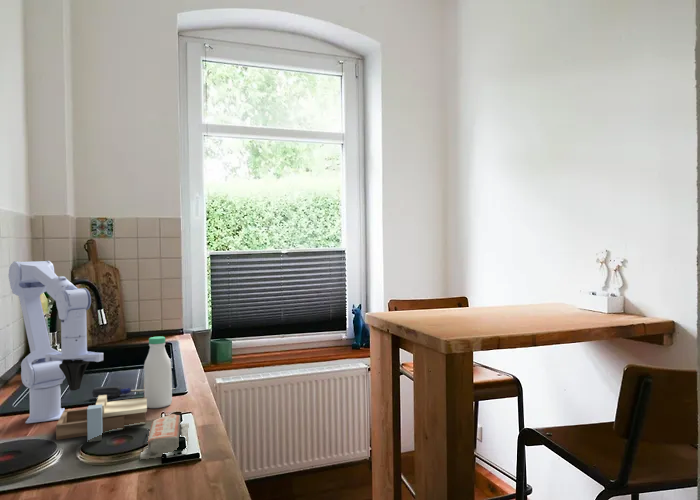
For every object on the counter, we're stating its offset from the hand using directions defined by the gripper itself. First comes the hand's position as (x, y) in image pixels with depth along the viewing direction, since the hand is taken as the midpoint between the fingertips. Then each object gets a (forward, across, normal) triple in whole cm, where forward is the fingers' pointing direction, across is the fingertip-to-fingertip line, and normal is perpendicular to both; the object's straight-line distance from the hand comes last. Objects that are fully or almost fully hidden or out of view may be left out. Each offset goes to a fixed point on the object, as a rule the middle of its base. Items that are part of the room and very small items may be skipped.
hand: (74, 389), depth 127 cm
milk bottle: (+11, -11, -21) cm, 26 cm away
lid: (+7, -9, -6) cm, 13 cm away
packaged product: (+11, -27, +6) cm, 30 cm away
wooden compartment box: (+10, -6, -3) cm, 12 cm away
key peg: (+10, -9, +6) cm, 15 cm away
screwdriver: (+11, +1, -32) cm, 34 cm away
